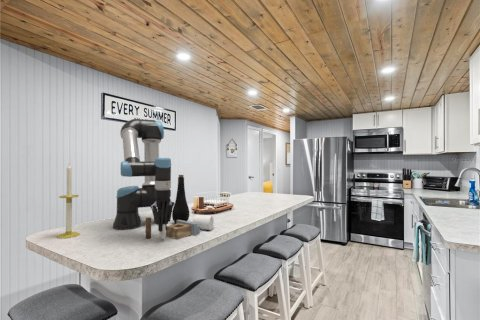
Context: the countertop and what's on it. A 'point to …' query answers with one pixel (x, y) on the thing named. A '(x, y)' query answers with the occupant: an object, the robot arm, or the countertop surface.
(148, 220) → the dowel
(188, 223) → the backstop wall
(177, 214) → the bottle
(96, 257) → the countertop surface
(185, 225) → the block
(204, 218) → the mug
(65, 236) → the candle
